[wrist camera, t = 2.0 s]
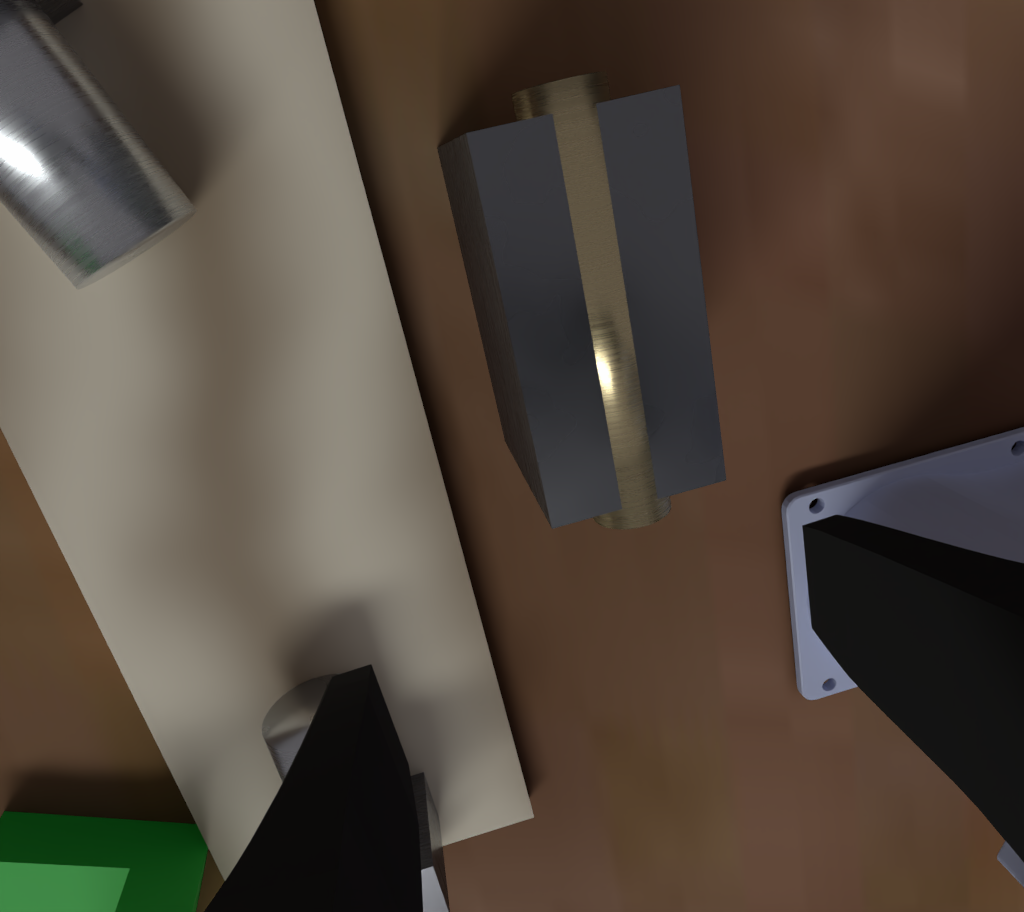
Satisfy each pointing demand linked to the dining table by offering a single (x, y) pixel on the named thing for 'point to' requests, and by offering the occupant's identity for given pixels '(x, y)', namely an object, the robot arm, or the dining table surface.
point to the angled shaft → (74, 153)
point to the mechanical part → (98, 864)
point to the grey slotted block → (591, 298)
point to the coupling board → (249, 429)
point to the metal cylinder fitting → (291, 725)
